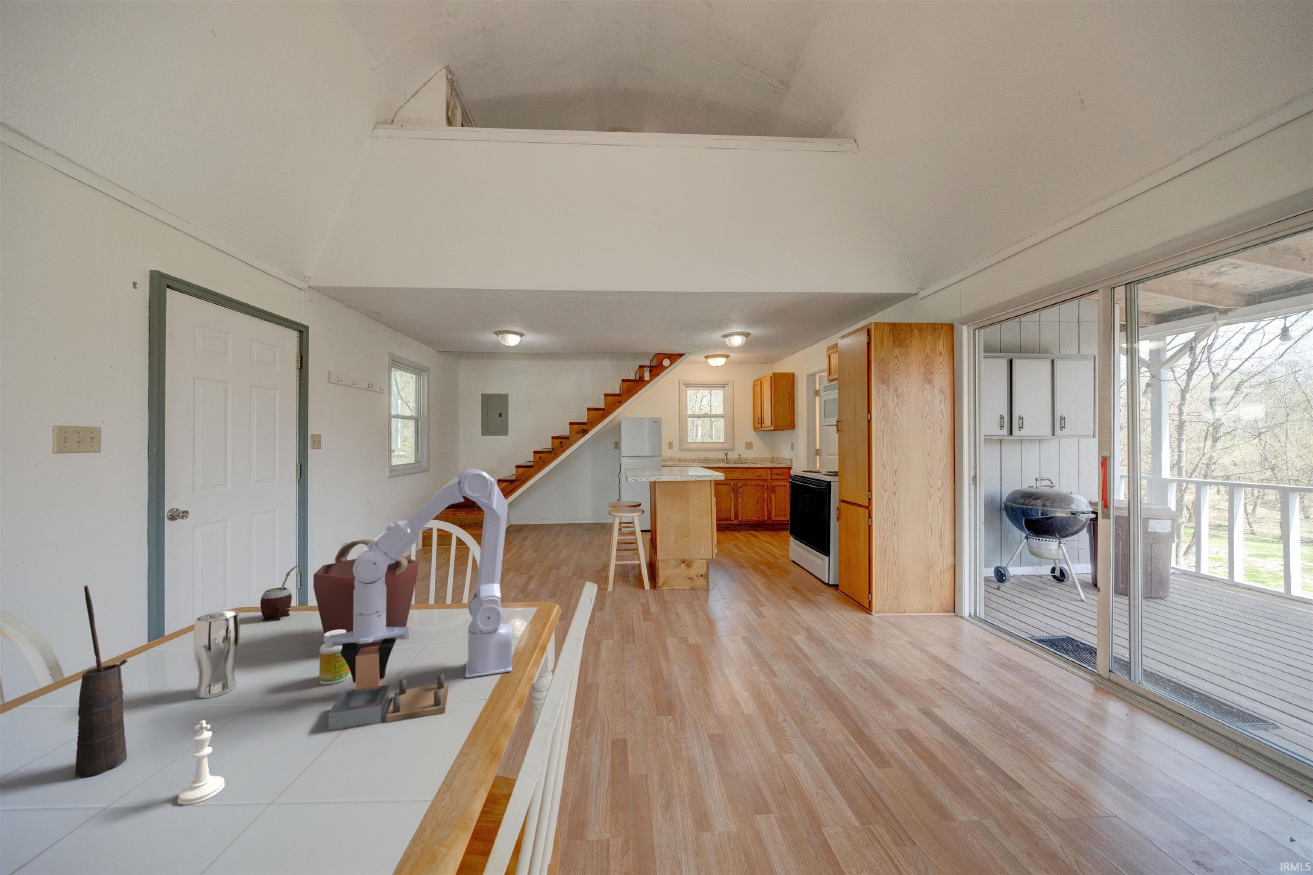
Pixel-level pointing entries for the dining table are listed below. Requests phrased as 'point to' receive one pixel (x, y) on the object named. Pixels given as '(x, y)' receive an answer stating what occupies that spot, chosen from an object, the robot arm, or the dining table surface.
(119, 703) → the butter churn
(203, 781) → the chess piece
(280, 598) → the mate gourd
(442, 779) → the dining table surface
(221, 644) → the beer glass
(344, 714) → the socket collar
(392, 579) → the bucket
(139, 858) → the dining table surface
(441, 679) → the board
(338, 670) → the supplement bottle
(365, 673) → the pin
